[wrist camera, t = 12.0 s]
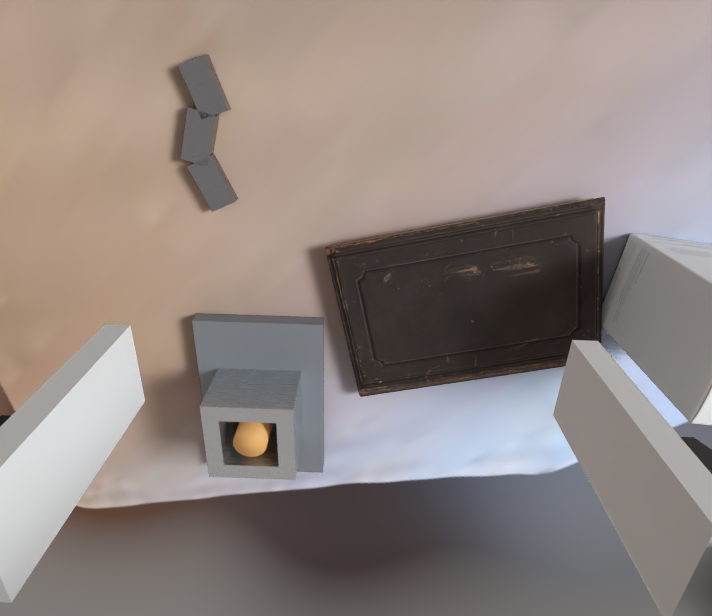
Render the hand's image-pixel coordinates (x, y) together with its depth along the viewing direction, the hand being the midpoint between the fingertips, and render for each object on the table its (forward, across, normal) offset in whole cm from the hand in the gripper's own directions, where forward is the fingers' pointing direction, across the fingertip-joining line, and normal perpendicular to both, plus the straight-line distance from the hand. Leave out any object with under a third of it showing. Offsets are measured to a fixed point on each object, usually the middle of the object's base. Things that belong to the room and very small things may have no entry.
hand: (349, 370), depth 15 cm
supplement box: (+29, +27, -9) cm, 41 cm away
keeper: (+29, -9, -22) cm, 37 cm away
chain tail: (+29, -12, +3) cm, 31 cm away
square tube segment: (+27, -9, -22) cm, 36 cm away
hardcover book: (+29, +10, -11) cm, 33 cm away
